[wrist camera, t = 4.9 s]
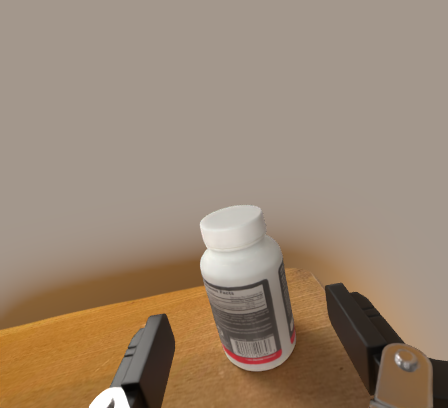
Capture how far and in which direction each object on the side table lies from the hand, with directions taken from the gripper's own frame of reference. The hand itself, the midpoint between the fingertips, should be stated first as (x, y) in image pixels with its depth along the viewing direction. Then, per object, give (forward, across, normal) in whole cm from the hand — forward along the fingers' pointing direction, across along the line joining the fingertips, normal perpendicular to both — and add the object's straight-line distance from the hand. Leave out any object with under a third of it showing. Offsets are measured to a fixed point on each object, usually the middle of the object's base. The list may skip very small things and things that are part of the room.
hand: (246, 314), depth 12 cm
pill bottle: (+4, 0, +6) cm, 7 cm away
